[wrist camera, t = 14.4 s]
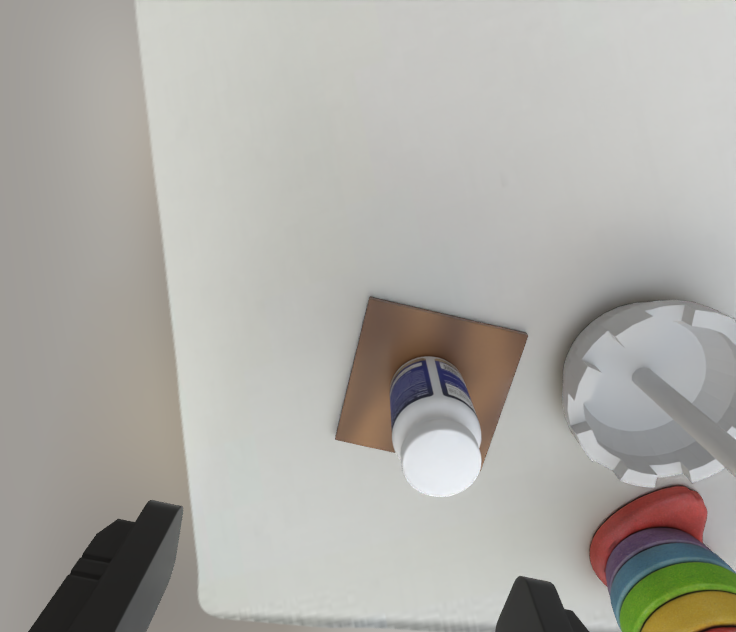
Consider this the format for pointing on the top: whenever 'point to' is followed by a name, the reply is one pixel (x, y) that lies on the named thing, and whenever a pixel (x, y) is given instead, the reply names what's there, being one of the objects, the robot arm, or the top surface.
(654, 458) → the grey countertop holder stand
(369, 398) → the coaster
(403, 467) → the pill bottle
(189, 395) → the top surface
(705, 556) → the stacking bear
